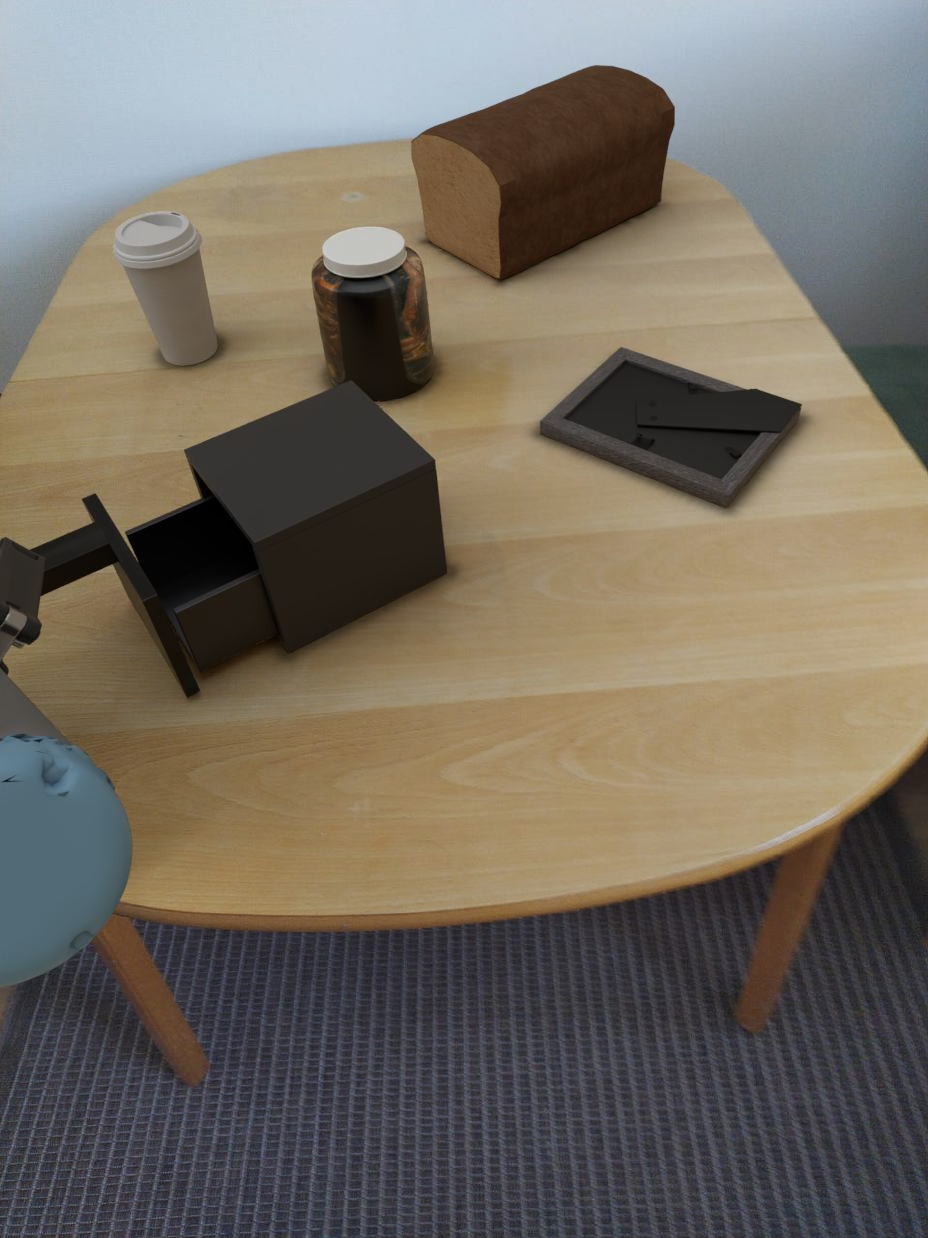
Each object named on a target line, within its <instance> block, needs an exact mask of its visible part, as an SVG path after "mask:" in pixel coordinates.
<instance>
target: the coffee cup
mask: <svg viewBox="0 0 928 1238" xmlns="http://www.w3.org/2000/svg"><path fill="white" fill-rule="evenodd" d="M202 243H203V238H202V235H201V234H200V232H199V230H198V229H197V228H196V226H195V225H194V224H193V223H191V222H190V220H189V218H188V217H187V216H186V215H185V214H182V213H180V212H177V211H172V210H171V211H170V210H160V211H159V210H157V211H150V212H145V213H142V214H138V215H136V216H133V217H130V218H129V219H127V220H126V221H124V222H122V223H121V224H120V225H119V226H118V227H117V228H116V229H115V232H114V241H113V247H112V251H113V259H114V260H115V261H116V262H117V263H118V264H120V265H122V268H123V271H124V272H125V274H126V277H127V279H128V281H129V283H130V285H131V288H132V290H133V292H134V294H135V296H136V299H137V301H138V302H139V305H140V307H141V310H142V312H143V314H144V316H145V320H146V321H147V323H148V325H149V327H150V330H151V332H152V334H153V337H154V339H155V341H156V343H157V345H158V348H159V350H160V352H161V354H162V357H163V359H164V360H165V361H166V362H167V363H168V364H170V365H174V366H182V367H183V366H184V367H185V366H186V367H187V366H193V365H196V364H200V363H203V362H205V361H208V360H209V359H211V358H212V357H213V356H214V355H215V354H216V353H217V351H218V348H219V343H218V337H217V334H216V328H215V323H214V318H213V313H212V307H211V303H210V297H209V292H208V287H207V282H206V276H205V272H204V266H203V261H202V254H201V250H200V247H201V246H202Z"/></svg>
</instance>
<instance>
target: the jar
mask: <svg viewBox="0 0 928 1238" xmlns="http://www.w3.org/2000/svg"><path fill="white" fill-rule="evenodd" d="M321 251H322V255H320V256H319V257H318V258H317V259H316V261H315V262H314V263H313V266H312V268H311V275H310V277H311V278H310V279H311V287H312V294H313V295H312V296H313V300H314V305H315V312H316V317H317V322H318V327H319V328H318V329H319V334H320V337H321V343H322V344H321V345H322V349H323V353H324V358H325V363H326V368H327V369H326V370H327V374H328V377H329V381H330V383H331V384H332V385H333V388H334V387H336V386H339V385H341V384H344V383H346V382H348V381H351V380H352V381H353V382H354V383H355V384H356V385H357V386H358V387H359V388H360V389H361V390H362V391H363V392H364V393H365V394H367V395H368V396H369V397H370V398H371V399H372V400H373V401H388V400H393V399H398V398H399V399H400V398H402V397H405V396H408V395H411V394H412V393H415V392H417V391H419V390H420V389H422V388H423V387H424V386H425V385H427V384H428V383H429V381H430V380H431V378H432V377H433V374H434V371H435V363H434V362H435V361H434V348H433V340H432V339H433V338H432V329H431V319H430V318H431V317H430V308H429V299H428V290H427V283H426V274H425V269H424V265H423V261H422V259H421V257H420V256H419V254H418V253H417V252H416V251H415V250H414V249H412V248H410V247H408V246H406V241H405V238H404V237H403V235H402V234H400V233H399V232H398V231H395V230H393V229H391V228H388V227H382V226H369V225H368V226H357V227H352V228H348V229H345V230H342V231H339V232H337V233H334V234H333V235H331V236H329V238H327V239H326V240H325V241H324V243H323V244H322V248H321Z"/></svg>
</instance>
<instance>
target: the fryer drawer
mask: <svg viewBox="0 0 928 1238" xmlns="http://www.w3.org/2000/svg"><path fill="white" fill-rule="evenodd" d="M81 501H82V504H83V506H84V508H85V510H86V511H87V514H88V517H89V518H90V520H91V523H88V524H86V525H84V526H81V527H79V528H77V529H74V530H72V531H70V532H67V533H65V534H63V535H61V536H58V537H56V538H53V539H51V540H48V541H46V542H44V543H42V544H40V545H37V546H35V547H32V548H30V549H29V550H31V551H33V552H34V553H36V554H38V555H40V556H42V557H43V558H45V559H46V563H45V570H44V577H43V584H42V591H41V597H43V596H45V595H47V594H49V593H51V592H54V591H56V590H58V589H60V588H63V587H65V586H68V585H70V584H71V583H74V582H76V581H79V580H81V579H83V578H85V577H88V576H90V575H92V574H94V573H97V572H99V571H101V570H103V569H105V568H107V567H110V566H113V568H114V570H115V572H116V574H117V576H118V579H119V581H120V583H121V585H122V587H123V590H124V591H125V593H126V595H127V598H128V599H129V600H130V603H131V605H132V606H133V607H134V609H135V611H136V613H137V614H138V616H139V618H140V620H141V621H142V623H143V625H144V626H145V628H146V630H147V632H148V633H149V635H150V637H151V639H152V641H153V642H154V644H155V646H156V647H157V650H158V651H159V652H160V654H161V656H162V657H163V660H164V661H165V662H166V664H167V666H168V668H169V669H170V671H171V673H172V674H173V675H172V676H174V679H175V680H176V681H177V683H178V685H179V686H180V689H181V690H182V692H183V693H184V695H185V697H186V698H187V699H189V698H191V697H193V696H195V695H196V694H198V693H200V692H201V689H200V686H199V684H198V682H197V680H196V677H195V675H194V672H193V671H192V668H191V666H190V663H189V661H188V659H187V657H186V654H185V653H184V650H183V648H182V645H181V643H182V644H183V647H184V648H185V650H186V651H187V653H188V654H189V656H190V658H191V659H192V661H193V662H194V664H195V666H196V667H197V669H198V671H199V672H200V673H203V672H205V671H207V670H209V669H211V668H213V667H215V666H217V665H219V664H221V663H222V662H225V661H227V660H229V659H231V658H233V657H235V656H237V655H239V654H240V653H241V654H242V653H243V652H245V651H247V650H249V649H251V648H253V647H256V646H257V645H259V644H261V643H262V642H265V641H267V640H269V639H271V638H273V637H274V636H276V635H277V634H279V630H278V626H277V623H276V620H275V617H274V614H273V611H272V608H271V604H270V601H269V598H268V595H267V592H266V589H265V585H264V582H263V579H262V576H261V573H260V570H259V566H258V563H257V560H256V557H255V554H254V551H253V547H252V545H251V543H250V542H249V541H248V539H247V538H246V537H245V535H244V534H243V533H242V531H241V530H240V529H239V527H238V526H237V525H236V523H235V522H234V521H233V519H232V518H231V517H230V515H229V514H228V513H227V511H226V510H225V509H224V507H223V506H222V505H221V503H220V502H219V501H218V499H217V498H216V497H215V495H214V494H213V493H212V494H210V495H208V496H205V497H203V498H201V497H200V498H198V499H196V500H194V501H192V502H189V503H187V504H185V505H183V506H180V507H178V508H176V509H173V510H171V511H169V512H167V513H164V514H162V515H160V516H157V517H154V518H152V519H150V520H148V521H146V522H143V523H141V524H139V525H136V526H134V527H131V528H130V529H127V530H126V531H124V534H125V537H126V538H127V541H128V542H126V540H125V538H124V537H123V535H122V533H121V531H120V530H119V528H118V527H117V525H116V524H115V522H114V520H113V518H112V517H111V516H110V514H109V512H108V511H107V509H106V508H105V506H104V504H103V503H102V501H101V499H100V498H99V496H98V495H97V493H92V494H90V495H87V496H84V497H82V498H81ZM128 543H129V545H130V546H129V545H128ZM130 547H131V548H130ZM131 549H132V550H131ZM179 639H180V641H179ZM180 642H181V643H180Z"/></svg>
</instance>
